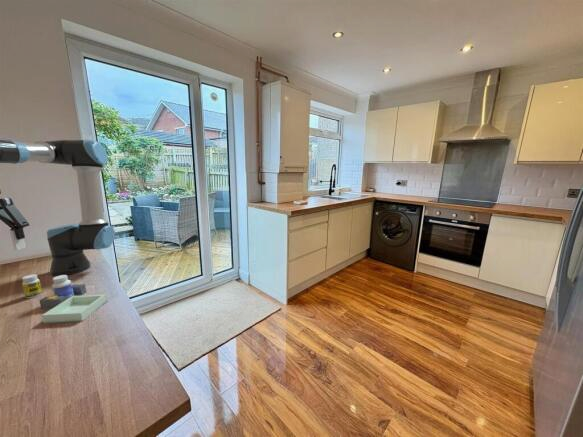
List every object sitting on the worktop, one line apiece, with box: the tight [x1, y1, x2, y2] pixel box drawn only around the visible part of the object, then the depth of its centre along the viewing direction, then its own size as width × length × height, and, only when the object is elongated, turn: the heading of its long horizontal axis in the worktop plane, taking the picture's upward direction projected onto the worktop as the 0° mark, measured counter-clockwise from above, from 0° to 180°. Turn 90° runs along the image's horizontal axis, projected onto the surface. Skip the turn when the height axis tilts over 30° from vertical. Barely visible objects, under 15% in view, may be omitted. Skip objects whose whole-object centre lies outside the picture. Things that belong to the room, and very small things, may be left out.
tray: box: [41, 293, 108, 324], centre depth 84 cm, size 12×12×3 cm
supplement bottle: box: [21, 274, 43, 299], centre depth 96 cm, size 5×5×8 cm
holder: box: [39, 283, 87, 310], centre depth 92 cm, size 12×7×4 cm, turn 4°
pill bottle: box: [51, 275, 75, 300], centre depth 92 cm, size 5×5×10 cm
